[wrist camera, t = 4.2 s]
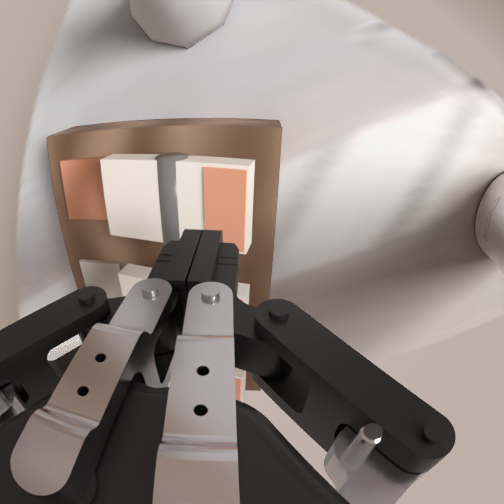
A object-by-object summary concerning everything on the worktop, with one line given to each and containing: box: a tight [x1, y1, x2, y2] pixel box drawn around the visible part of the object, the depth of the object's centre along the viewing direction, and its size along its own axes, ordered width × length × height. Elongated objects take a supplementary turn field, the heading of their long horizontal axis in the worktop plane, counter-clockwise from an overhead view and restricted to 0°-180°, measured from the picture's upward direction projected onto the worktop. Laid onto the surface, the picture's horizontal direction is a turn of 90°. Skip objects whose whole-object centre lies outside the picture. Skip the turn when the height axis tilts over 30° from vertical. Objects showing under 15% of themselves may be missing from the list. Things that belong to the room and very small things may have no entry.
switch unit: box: [47, 118, 282, 391], centre depth 25 cm, size 16×24×4 cm, turn 178°
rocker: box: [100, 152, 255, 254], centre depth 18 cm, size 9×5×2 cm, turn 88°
